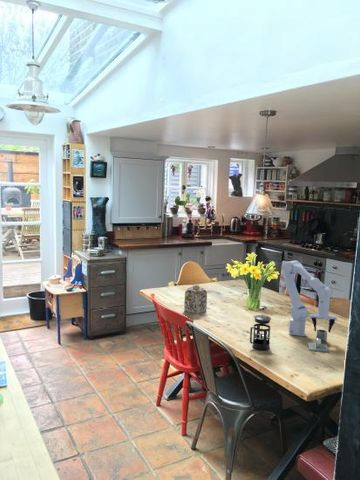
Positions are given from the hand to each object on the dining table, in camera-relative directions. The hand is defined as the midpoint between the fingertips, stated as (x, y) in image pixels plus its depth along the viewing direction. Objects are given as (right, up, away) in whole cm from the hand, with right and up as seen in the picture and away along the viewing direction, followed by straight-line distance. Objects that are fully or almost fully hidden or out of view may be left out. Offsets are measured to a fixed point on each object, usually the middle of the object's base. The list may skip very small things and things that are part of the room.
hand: (322, 331), depth 230 cm
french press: (-37, -7, -10) cm, 39 cm away
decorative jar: (-70, +2, +52) cm, 87 cm away
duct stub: (-5, -7, -9) cm, 13 cm away
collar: (0, -6, +1) cm, 6 cm away
